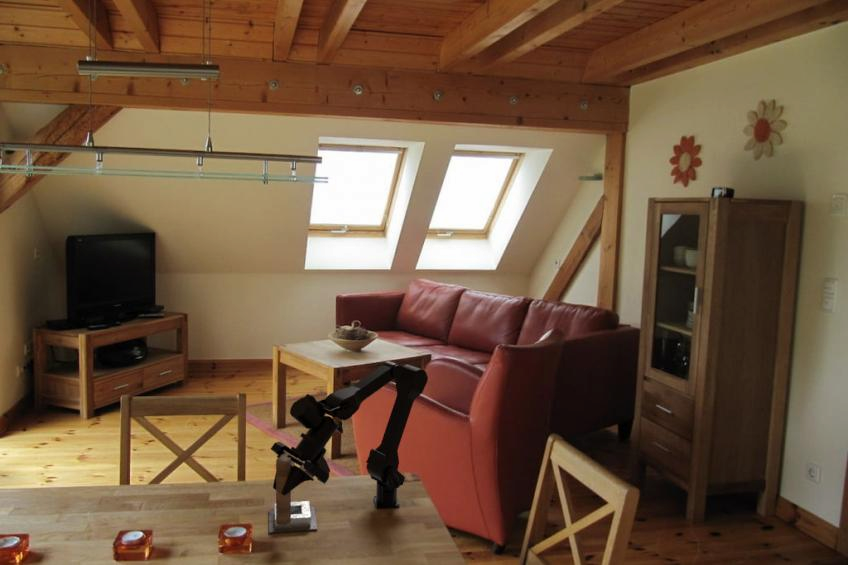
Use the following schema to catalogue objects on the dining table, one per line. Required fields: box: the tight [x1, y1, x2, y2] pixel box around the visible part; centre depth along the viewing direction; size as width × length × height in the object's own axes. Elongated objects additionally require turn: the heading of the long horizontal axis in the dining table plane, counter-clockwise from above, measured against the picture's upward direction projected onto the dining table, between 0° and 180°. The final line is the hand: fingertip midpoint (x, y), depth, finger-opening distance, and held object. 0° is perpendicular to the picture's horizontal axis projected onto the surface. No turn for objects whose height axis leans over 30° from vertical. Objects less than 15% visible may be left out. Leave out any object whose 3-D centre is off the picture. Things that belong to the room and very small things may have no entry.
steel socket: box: [268, 500, 318, 535], centre depth 183 cm, size 12×12×3 cm
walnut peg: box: [275, 457, 292, 525], centre depth 171 cm, size 4×4×16 cm
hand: (278, 491), depth 170 cm, fingers closed on walnut peg, 3 cm apart
